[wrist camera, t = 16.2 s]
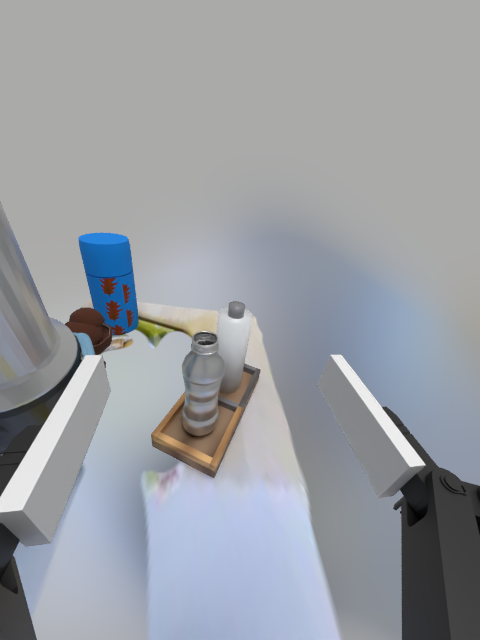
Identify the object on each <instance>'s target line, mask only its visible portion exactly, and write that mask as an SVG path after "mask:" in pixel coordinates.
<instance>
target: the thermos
mask: <svg viewBox="0 0 480 640" xmlns="http://www.w3.org/2000/svg"><path fill="white" fill-rule="evenodd" d="M79 246H80V251H81V255H82V259H83V264H84V268H85V272H86V276H87V281H88V285H89V289H90V294H91V298H92V303H93V307H94V309H95V310H97V311H98V312H100V313H101V314H102V316H103V317H104V319H105V321H104V323H106V324H108V325H110V326H111V327H112V335H122V334H126V333H129V332H131V331H133V330H134V329H135V328H136V327H137V326H138V309H137V301H136V293H135V284H134V275H133V267H132V258H131V250H130V244H129V240H128V238H127V237H125V236H123V235H119V234H113V233H112V234H111V233H91V234H85V235H82V236H80V237H79Z"/></svg>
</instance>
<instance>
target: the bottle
mask: <svg viewBox="0 0 480 640" xmlns="http://www.w3.org/2000/svg"><path fill="white" fill-rule="evenodd" d="M252 319H253V315H252V313H251V312H250V311H248V310H246V309H245V305H244V304H243V303H241V302H237V301H233V302H230V303H229V307H224V308H222V309H221V310H220V311H219V314H218V325H217V336H218V339H219V341H218V345H219V349H218V352H219V353H220V354H221V356H222V357H223V359H224V362H225V366H226V368H225V373H224V376H223V379H222V382H221V385H220V389H219V392H220V393H223V394H231V393H234V392H236V391H237V390H238V389H239V388H240V384H241V379H242V373H243V368H244V362H245V357H246V352H247V346H248V341H249V335H250V330H251V325H252Z"/></svg>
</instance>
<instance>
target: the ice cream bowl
mask: <svg viewBox="0 0 480 640" xmlns="http://www.w3.org/2000/svg"><path fill="white" fill-rule="evenodd" d="M104 321H105V319H104V317H103V316H102V314H101V313H100V312H98V311H97V310H95V309H92V308H80V309H78V310H76V311H75V312H73V313H72V314H71V316H70V319H69V322H67V323H66V324H65V325H66V326H67V327H68V328H69V329H70V330H71V332H72V333H74V332H75V333H85V334H87V335H88V336H89V337H90V339H91V342H92V345H93V348H94V352H95V355H99V354H100V353H102V352H103V351H104V350H105V349H106V348H107V347H108V346H109V345H110V343H111V341H112V327H111V326H110V325H108V324H106V323H104ZM104 365H105V368H106V362H105V361H104Z"/></svg>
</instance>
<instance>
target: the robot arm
mask: <svg viewBox="0 0 480 640" xmlns="http://www.w3.org/2000/svg"><path fill="white" fill-rule="evenodd" d="M317 386H318V387H319V389H320V391H321V393H322V395H323V397H324V398H325V400H326V402H327V404H328V406H329V408H330V409H331V411H332V413H333V415H334V417H335V419H336V420H337V422H338V424H339V426H340V428H341V430H342V431H343V433H344V435H345V437H346V438H347V440H348V442H349V444H350V446H351V448H352V450H353V451H354V453H355V455H356V457H357V459H358V460H359V462H360V464H361V466H362V468H363V470H364V471H365V473H366V475H367V477H368V479H369V481H370V482H371V484H372V486H373V488H374V490H375V492H376V493H377V495H378V497H379V498H381V497H388V496H394V495H395V494H396V493H397V492H398V491H399V490H401V492H402V494H403V495H404V496H403V498H401V499H400V500H399V501H398V502H397V503H396V504H395V505H394V508H393V509H395V510H397V509H398V508H399V507H400V506H401V511H400V513H401V515H402V640H480V486H478V485H474V484H470V483H467V482H463V481H461V480H460V479H459V478H458V477H457V476H456V475H454V474H453V473H451V472H450V471H448V470H445V469H443V468H439V467H438V466H437V465H436V464H435V463H434V461H433V460H432V459H431V458H430V456H429V455H428V454H427V453H426V451H425V450H424V449H423V448H422V447H421V445H420V444H419V443H418V442H417V440H416V439H415V438H414V437H413V435H412V434H410V432H409V430H408V429H407V428H406V427H405V426H404V424H403V423H402V422H401V420H400V419H399V418H398V417H397V415H395V414H394V413H393V412H392V411H391V410H390V409H388V408H387V407H381V406H380V405H379V403H378V402H377V401H376V399H375V398H374V397H373V396H372V394H371V393H370V392H369V390H368V389H367V388H366V386H365V385H364V384H363V382H362V381H361V380H360V379H359V377H358V376H357V375H356V373H355V372H354V371H353V369H352V368H351V367H350V365H349V364H348V363H347V362H346V360H345V359H344V358H343V357H342V355H330V357H329V360H328V362H327V364H326V366H325V369H324V371H323V373H322V376H321V378H320V380H319V383H318V385H317ZM110 392H111V390H110V387H109V382H108V378H107V374H106V369H105V365H104V361H103V357H102V355H95V352H94V348H93V345H92V342H91V339H90V337H89V336H88V335H87V334H85V333H75V332H74V333H72V332H71V330H70V329H69V328H68V327H67V326H66V325H65V324H63V323H61V322H60V321H58V320H55V319H53V318H50V317H48V314H47V312H46V309H45V307H44V305H43V302H42V300H41V297H40V295H39V293H38V291H37V288H36V286H35V283H34V281H33V278H32V276H31V274H30V271H29V269H28V267H27V264H26V262H25V260H24V257H23V255H22V252H21V250H20V248H19V245H18V243H17V241H16V238H15V236H14V233H13V231H12V229H11V226H10V224H9V222H8V219H7V217H6V214H5V212H4V210H3V207H2V205H1V203H0V454H2V453H4V454H3V455H2V456H0V640H37V639H36V635H35V631H34V628H33V624H32V620H31V617H30V613H29V609H28V606H27V602H26V598H25V594H24V591H23V587H22V583H21V580H20V576H19V572H18V569H17V565H16V561H15V558H14V556H13V553H14V551H15V549H16V547H17V545H18V543H19V541H20V542H21V543H22V544H23V545H24V546H25V547H26V546H34V545H41V544H48V543H51V542H52V539H53V537H54V534H55V532H56V529H57V527H58V524H59V521H60V519H61V516H62V514H63V511H64V509H65V506H66V504H67V501H68V499H69V496H70V493H71V491H72V488H73V486H74V483H75V481H76V478H77V476H78V473H79V471H80V468H81V466H82V463H83V460H84V458H85V455H86V453H87V450H88V447H89V445H90V443H91V440H92V438H93V435H94V432H95V430H96V427H97V425H98V422H99V419H100V417H101V415H102V412H103V409H104V407H105V404H106V402H107V399H108V397H109V394H110Z"/></svg>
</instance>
